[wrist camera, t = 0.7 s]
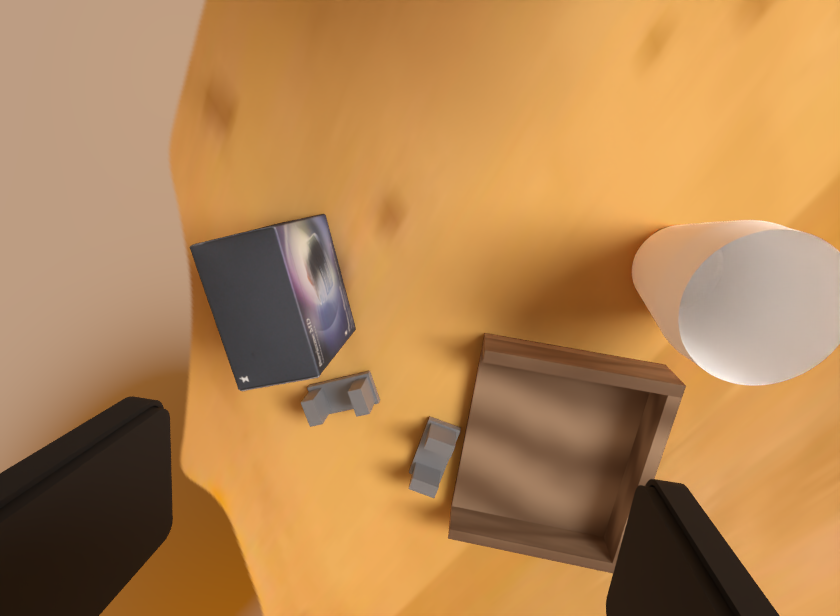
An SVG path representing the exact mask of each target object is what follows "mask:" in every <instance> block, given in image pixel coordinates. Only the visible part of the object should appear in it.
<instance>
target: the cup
mask: <svg viewBox="0 0 840 616" xmlns="http://www.w3.org/2000/svg"><path fill="white" fill-rule="evenodd" d="M632 279H633V283H634V286H635V288H636V290H637V292H638V293H639V295H640V297H641V298H642V300H643V302H644V303H645V305H646V307H647V308H648V310H649V312H650V313H651V315H652V317H653V318H654V320H655V322H656V323H657V325H658V327H659V328H660V330H661V331H662V333H663V335H664V336H665V338H666V339H667V340H668V341H669V343H670V344H671V345H672V346H673V347H674V348H675V349H676V350H677V351H678V352H680V353H681V354H682V355H684V356H685V357H687V358H688V359H690V360H692V361H693V362H694V363H696V364H697V365H698V366H700V367H701V368H702V369H704V370H705V371H706V372H708V373H709V374H711V375H713V376H715V377H717V378H719V379H722V380H724V381H728V382H731V383H735V384H741V385H767V384H774V383H779V382H782V381H786V380H789V379H792V378H794V377H797V376H799V375H801V374H803V373H805V372H807V371H809V370H810V369H812V368H814V367H815V366H816V365H818V364H819V363H821V362H822V361H823V360H824V359H826V358H827V357H828V356H829V355H830V354H831V353H832V352H833V351H834V350H835V349H836V347H837V346H838V345H839V344H840V252H839V251H838V250H837V249H836V248H834V247H833V246H832V245H831V244H829V243H828V242H826V241H825V240H823V239H821V238H819V237H817V236H814V235H812V234H808V233H805V232H802V231H798V230H794V229H791V228H787V227H785V226H782V225H779V224H775V223H772V222H766V221H758V220H736V221H722V222H709V223H696V224H683V225H674V226H670V227H666V228H664V229H661V230H659V231H657V232H656V233H654V234H653V235H651V236H650V237H649V238H648V239H646V241H645V242H644V243H643V244H642V245H641V246H640V248H639V249H638V251H637V253H636V255H635V257H634V260H633V264H632Z"/></svg>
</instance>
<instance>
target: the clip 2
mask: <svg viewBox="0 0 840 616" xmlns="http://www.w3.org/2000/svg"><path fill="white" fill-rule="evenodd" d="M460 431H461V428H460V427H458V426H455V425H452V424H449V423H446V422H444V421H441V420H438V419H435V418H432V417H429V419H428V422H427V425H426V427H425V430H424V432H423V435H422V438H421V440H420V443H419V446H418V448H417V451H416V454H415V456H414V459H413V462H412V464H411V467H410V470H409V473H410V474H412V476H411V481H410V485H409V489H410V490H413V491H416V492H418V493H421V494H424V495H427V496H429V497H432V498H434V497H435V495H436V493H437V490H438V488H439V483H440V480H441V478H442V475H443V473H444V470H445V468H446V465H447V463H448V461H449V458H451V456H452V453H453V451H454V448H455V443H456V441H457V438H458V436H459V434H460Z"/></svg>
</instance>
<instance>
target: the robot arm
mask: <svg viewBox="0 0 840 616" xmlns="http://www.w3.org/2000/svg"><path fill="white" fill-rule="evenodd" d="M170 447H171V443H170V416H169V412H168V411H167V410H166V409H164V408H163V405H162V403H161V402H160V401H158V400H151V399H145V398H139V397H127V398H125V399H123V400H122V401H120V402H118V403H117V404H115V405H113V406H112V407H110V408H108V409H107V410H105V411H103V412H102V413H100V414H98V415H97V416H95V417H93V418H92V419H90V420H88V421H87V422H85V423H83V424H82V425H80V426H78V427H77V428H75V429H73V430H72V431H70V432H68V433H67V434H65V435H63V436H62V437H60V438H58V439H57V440H55V441H53V442H52V443H50V444H49V445H47V446H45V447H43V448H42V449H40V450H38V451H37V452H35V453H33V454H32V455H30V456H29V457H27V458H25V459H23V460H22V461H20V462H18V463H17V464H15V465H14V466H12V467H10V468H8V469H7V470H5V471H3V472H2V473H1V474H0V616H99V615H100V614H101V613H102V611H103V610H104V609H105V608H106V607H107V606H108V604H109V603H110V602H111V601H112V600H113V599H114V598H115V596H117V594H118V593H119V592H120V591H121V590H122V589H123V587H124V586H125V585H126V584H127V583H128V582H129V581H130V580H131V578H132V577H133V576H134V575H135V574H136V573H137V572H138V570H139V569H140V568H141V567H142V566H143V565H144V563H145V562H146V561H147V560H148V559H149V558H150V557H151V556H152V554H153V553H154V552H155V551H156V550H157V549H158V547H159V546H160V545H161V544H162V543H163V542H164V541H165V539H166V538H167V536H168V534H169V532H170V530H171V526H172V519H173V516H172V480H171V448H170ZM606 614H607V616H779V614H778V613H777V612H776V610H775V609H774V607H773V606H772V605H771V603H770V602H769V600H768V599H767V598H766V596H765V595H764V594H763V592H762V591H761V589H760V588H759V587H758V585H757V584H756V582H755V581H754V580H753V578H752V577H751V575H750V574H749V573H748V571H747V570H746V569H745V567H744V566H743V564H742V563H741V562H740V560H739V559H738V557H737V556H736V555H735V553H734V552H733V550H732V549H731V548H730V546H729V545H728V544H727V542H726V541H725V539H724V538H723V537H722V535H721V534H720V532H719V531H718V530H717V528H716V527H715V525H714V524H713V523H712V521H711V520H710V519H709V517H708V516H707V514H706V513H705V512H704V510H703V509H702V507H701V506H700V505H699V503H698V502H697V500H696V499H695V498H694V496H693V495H692V494H691V492H690V491H689V489H688V488H687V487H686V486H685V485H684V484H681V483H674V482H668V481H662V480H656V479H650V480H648V482H647V483H646V485H645V486H643V485H639V486H638V487H637V488H636V491H635V494H634V497H633V501H632V505H631V509H630V513H629V516H628V520H627V524H626V528H625V531H624V535H623V539H622V543H621V546H620V550H619V554H618V558H617V561H616V565H615V569H614V573H613V577H612V580H611V584H610V588H609V592H608V595H607V600H606Z"/></svg>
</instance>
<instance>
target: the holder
mask: <svg viewBox="0 0 840 616" xmlns="http://www.w3.org/2000/svg"><path fill="white" fill-rule="evenodd" d="M685 387H686V386H685V385H684V383H683V382H682V381H681V380H680V379H679V378H678V377H677V376H676V375H675V374H674V373H673V372H672V371H671V370H670V369H669V368H668V367H667V366H666V365H664V364H658V363H652V362H646V361H641V360H635V359H629V358H624V357H618V356H612V355H606V354H601V353H595V352H589V351H584V350H578V349H572V348H567V347H561V346H555V345H549V344H544V343H538V342H532V341H527V340H521V339H515V338H509V337H504V336H498V335H492V334H487V333H485V335H484V340H483V345H482V350H481V355H480V360H479V365H478V371H477V376H476V381H475V386H474V391H473V396H472V402H471V407H470V412H469V417H468V422H467V427H466V432H465V438H464V443H463V448H462V453H461V458H460V463H459V469H458V474H457V479H456V484H455V489H454V494H453V499H452V505H451V512H450V523H449V535H448V539H453V540H458V541H462V542H467V543H472V544H477V545H481V546H486V547H491V548H496V549H500V550H505V551H510V552H515V553H519V554H524V555H529V556H534V557H538V558H543V559H548V560H552V561H557V562H562V563H567V564H571V565H576V566H581V567H586V568H590V569H595V570H600V571H605V572H609V573H614V569H615V565H616V561H617V558H618V554H619V550H620V546H621V543H622V539H623V535H624V531H625V528H626V524H627V520H628V516H629V513H630V509H631V505H632V501H633V497H634V494H635V491H636V488H637V487H638V486H639V485H643V486H645V485H646V483H647V482H648V480H650V479H654V478H655V475H656V472H657V469H658V466H659V463H660V461H661V458H662V455H663V452H664V449H665V446H666V443H667V440H668V437H669V434H670V431H671V428H672V425H673V422H674V419H675V417H676V414H677V411H678V408H679V405H680V402H681V399H682V396H683V393H684V390H685Z"/></svg>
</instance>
